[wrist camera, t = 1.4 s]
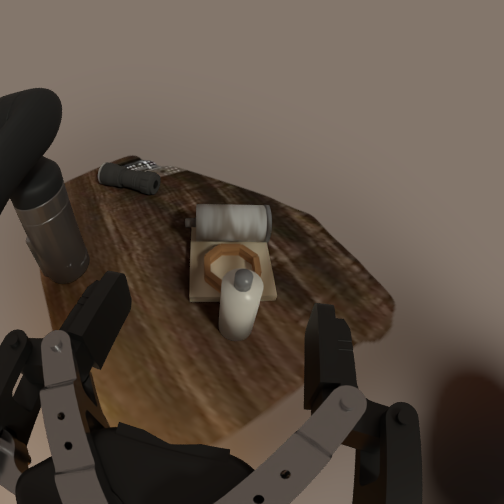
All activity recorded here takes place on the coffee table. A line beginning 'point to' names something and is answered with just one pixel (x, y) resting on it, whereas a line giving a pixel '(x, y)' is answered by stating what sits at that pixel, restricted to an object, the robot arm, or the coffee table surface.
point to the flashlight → (129, 178)
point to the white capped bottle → (239, 303)
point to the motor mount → (229, 248)
